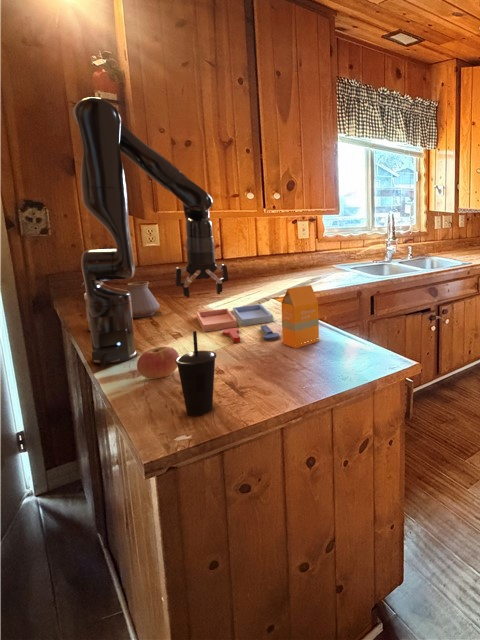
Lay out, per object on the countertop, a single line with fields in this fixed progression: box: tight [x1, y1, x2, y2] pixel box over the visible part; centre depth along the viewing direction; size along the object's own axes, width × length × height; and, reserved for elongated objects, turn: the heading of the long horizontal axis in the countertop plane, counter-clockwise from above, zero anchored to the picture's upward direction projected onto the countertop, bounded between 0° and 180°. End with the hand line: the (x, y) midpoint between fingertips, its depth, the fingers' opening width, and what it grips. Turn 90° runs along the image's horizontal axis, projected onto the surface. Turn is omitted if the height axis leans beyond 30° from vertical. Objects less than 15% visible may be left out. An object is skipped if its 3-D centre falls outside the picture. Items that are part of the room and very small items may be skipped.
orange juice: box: [280, 284, 320, 349], centre depth 141 cm, size 8×9×20 cm
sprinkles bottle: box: [83, 292, 90, 331], centre depth 143 cm, size 5×5×13 cm
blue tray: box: [232, 303, 274, 327], centre depth 166 cm, size 19×10×2 cm, turn 43°
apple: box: [136, 345, 180, 380], centre depth 113 cm, size 9×9×8 cm
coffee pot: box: [80, 281, 160, 318], centre depth 157 cm, size 21×12×15 cm, turn 133°
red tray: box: [196, 307, 238, 333], centre depth 157 cm, size 19×10×2 cm, turn 43°
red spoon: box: [221, 327, 241, 344], centre depth 144 cm, size 14×5×2 cm, turn 43°
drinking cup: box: [175, 330, 218, 417], centre depth 96 cm, size 8×8×20 cm
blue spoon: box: [260, 324, 280, 342], centre depth 148 cm, size 14×5×2 cm, turn 43°
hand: (203, 295), depth 140 cm, fingers open, 8 cm apart
